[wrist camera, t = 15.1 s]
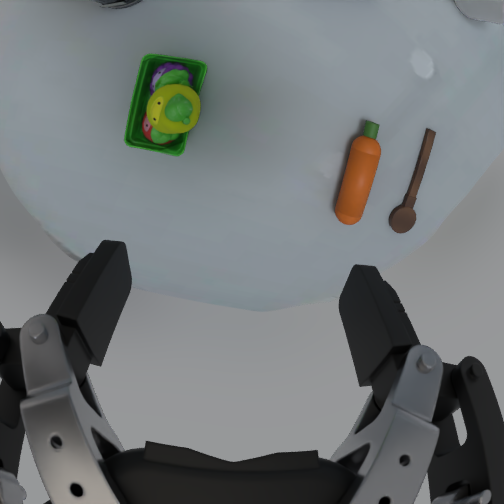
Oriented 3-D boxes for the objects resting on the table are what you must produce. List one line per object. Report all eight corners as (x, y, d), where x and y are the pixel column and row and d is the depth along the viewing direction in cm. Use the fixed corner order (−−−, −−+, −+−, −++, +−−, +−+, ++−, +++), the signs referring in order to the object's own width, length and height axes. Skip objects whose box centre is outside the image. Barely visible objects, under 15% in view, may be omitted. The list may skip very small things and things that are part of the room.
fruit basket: (157, 55, 26) (118, 48, 17) (224, 67, 27) (212, 60, 18) (138, 136, 32) (98, 161, 23) (200, 149, 34) (180, 179, 25)
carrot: (352, 116, 30) (368, 122, 27) (376, 122, 31) (393, 129, 28) (327, 215, 39) (339, 229, 36) (350, 216, 40) (362, 230, 37)
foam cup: (435, -12, 16) (491, -23, 6) (457, -29, 12) (509, -38, 2) (472, 36, 20) (530, 42, 9) (491, 16, 16) (544, 19, 5)
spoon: (417, 124, 31) (421, 126, 30) (440, 134, 31) (444, 136, 30) (384, 228, 41) (387, 231, 40) (407, 232, 41) (409, 235, 40)
